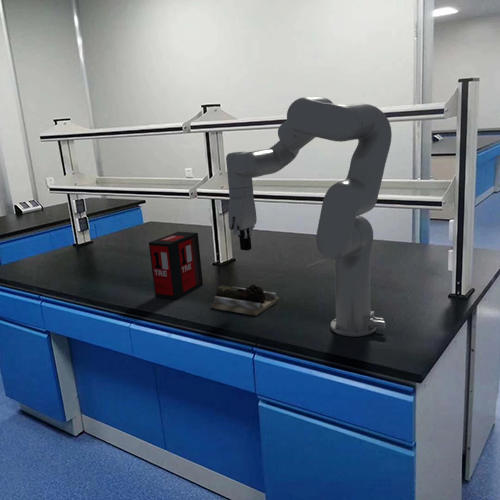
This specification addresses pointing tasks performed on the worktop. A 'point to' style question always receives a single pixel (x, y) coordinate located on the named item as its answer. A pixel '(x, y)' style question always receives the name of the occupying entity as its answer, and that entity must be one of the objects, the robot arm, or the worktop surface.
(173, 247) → the cleaning product box
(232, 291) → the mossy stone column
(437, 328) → the worktop surface
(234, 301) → the pipe cradle
